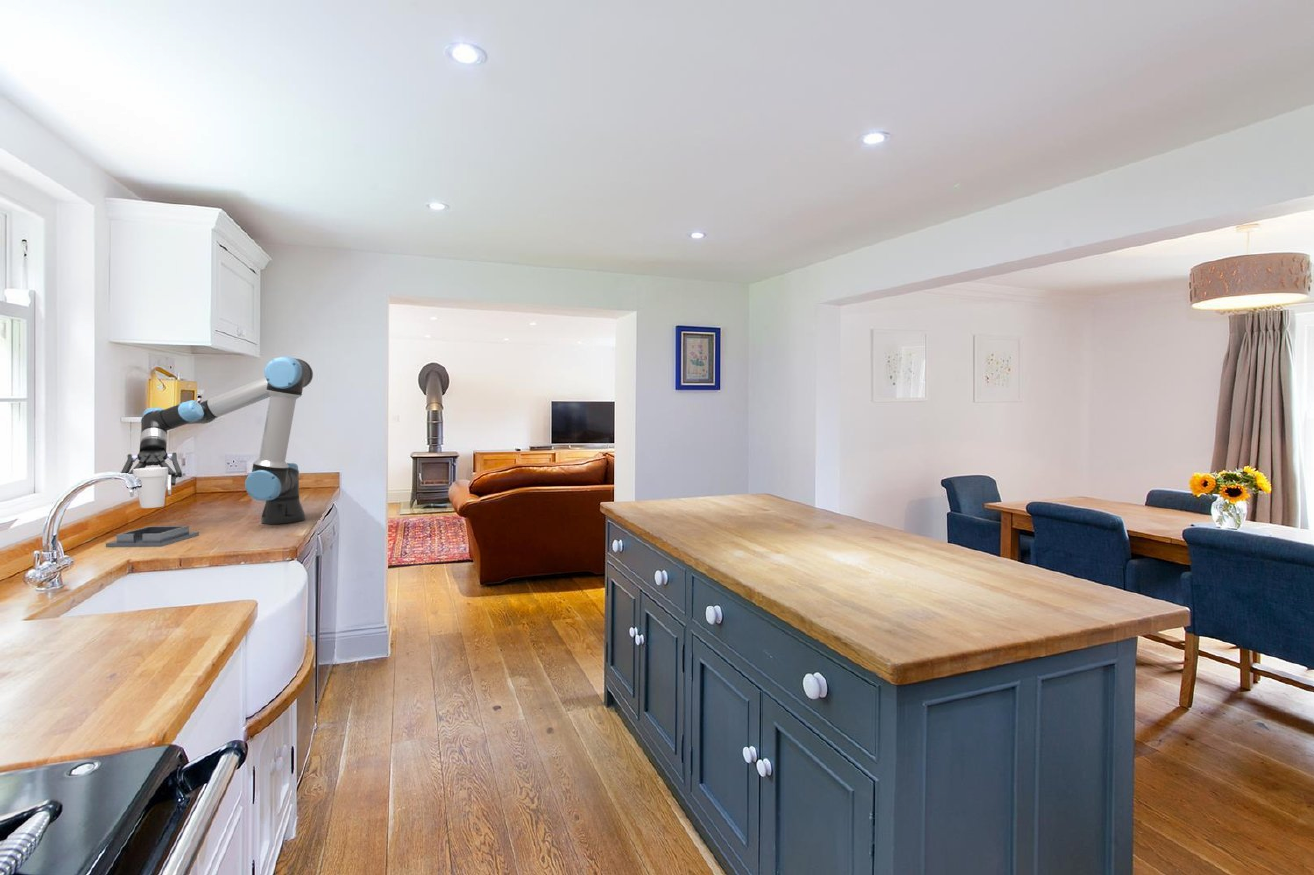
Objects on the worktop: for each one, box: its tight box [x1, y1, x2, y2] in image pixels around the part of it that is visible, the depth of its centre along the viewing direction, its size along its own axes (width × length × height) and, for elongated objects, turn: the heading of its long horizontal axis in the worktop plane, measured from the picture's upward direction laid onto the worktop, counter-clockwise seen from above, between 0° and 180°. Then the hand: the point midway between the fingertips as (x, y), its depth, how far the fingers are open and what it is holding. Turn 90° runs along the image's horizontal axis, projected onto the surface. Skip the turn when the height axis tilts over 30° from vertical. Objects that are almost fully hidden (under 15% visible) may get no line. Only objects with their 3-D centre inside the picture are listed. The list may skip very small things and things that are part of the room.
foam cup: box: [132, 466, 168, 509], centre depth 222 cm, size 10×9×13 cm
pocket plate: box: [105, 525, 200, 548], centre depth 223 cm, size 18×18×4 cm
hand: (150, 493), depth 220 cm, fingers closed on foam cup, 9 cm apart
